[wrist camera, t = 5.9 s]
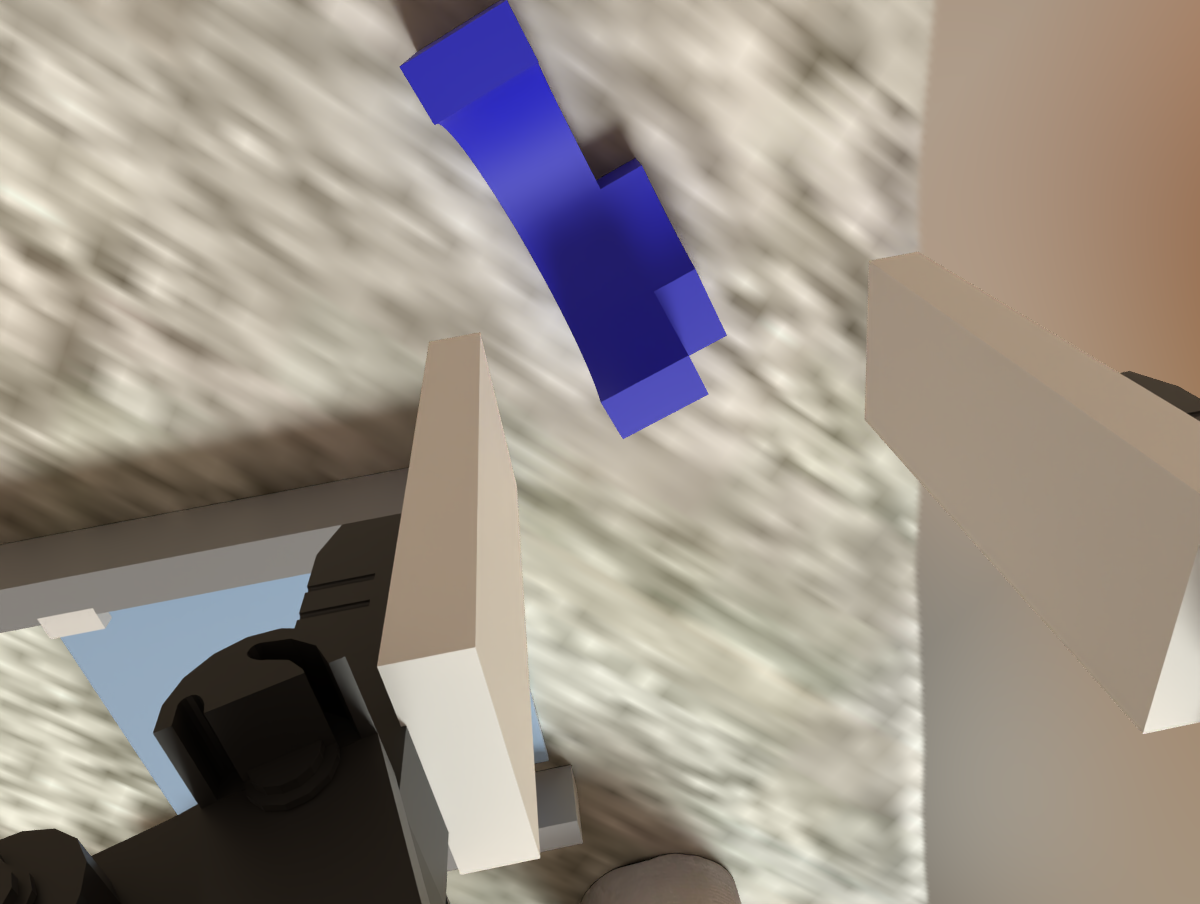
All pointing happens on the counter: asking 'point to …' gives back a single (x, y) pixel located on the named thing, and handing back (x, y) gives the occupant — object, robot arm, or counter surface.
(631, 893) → the pillar candle
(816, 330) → the counter surface
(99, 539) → the blue panel with rails
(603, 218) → the cable clip
